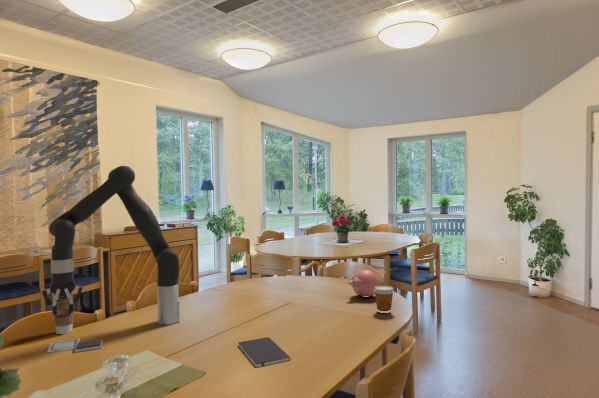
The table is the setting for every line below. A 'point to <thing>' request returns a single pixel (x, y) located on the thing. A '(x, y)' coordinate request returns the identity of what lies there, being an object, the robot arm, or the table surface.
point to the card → (63, 345)
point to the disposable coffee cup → (383, 297)
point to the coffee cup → (64, 323)
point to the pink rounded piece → (364, 283)
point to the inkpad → (88, 345)
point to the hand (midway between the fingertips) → (63, 313)
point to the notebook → (263, 351)
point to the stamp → (63, 308)
